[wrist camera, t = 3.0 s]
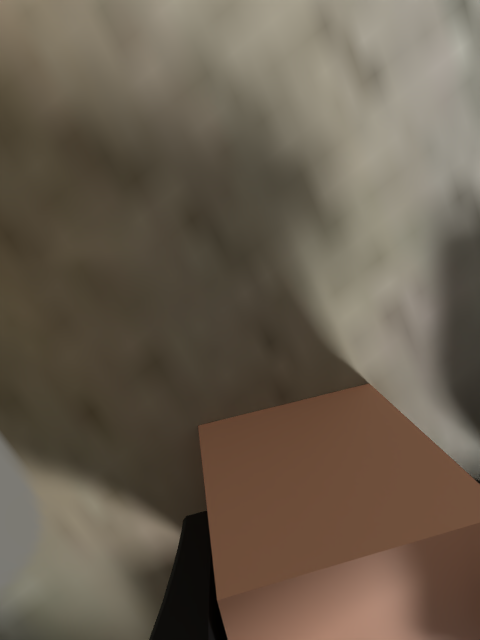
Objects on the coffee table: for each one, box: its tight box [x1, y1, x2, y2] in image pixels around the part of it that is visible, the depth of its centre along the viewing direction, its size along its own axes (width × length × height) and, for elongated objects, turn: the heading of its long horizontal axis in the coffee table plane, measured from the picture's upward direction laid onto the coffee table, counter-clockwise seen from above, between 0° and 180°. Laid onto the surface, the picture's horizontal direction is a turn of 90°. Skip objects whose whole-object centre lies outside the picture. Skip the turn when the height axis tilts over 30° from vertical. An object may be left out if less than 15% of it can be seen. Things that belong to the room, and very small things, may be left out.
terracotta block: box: [198, 384, 480, 640], centre depth 9 cm, size 5×5×5 cm
